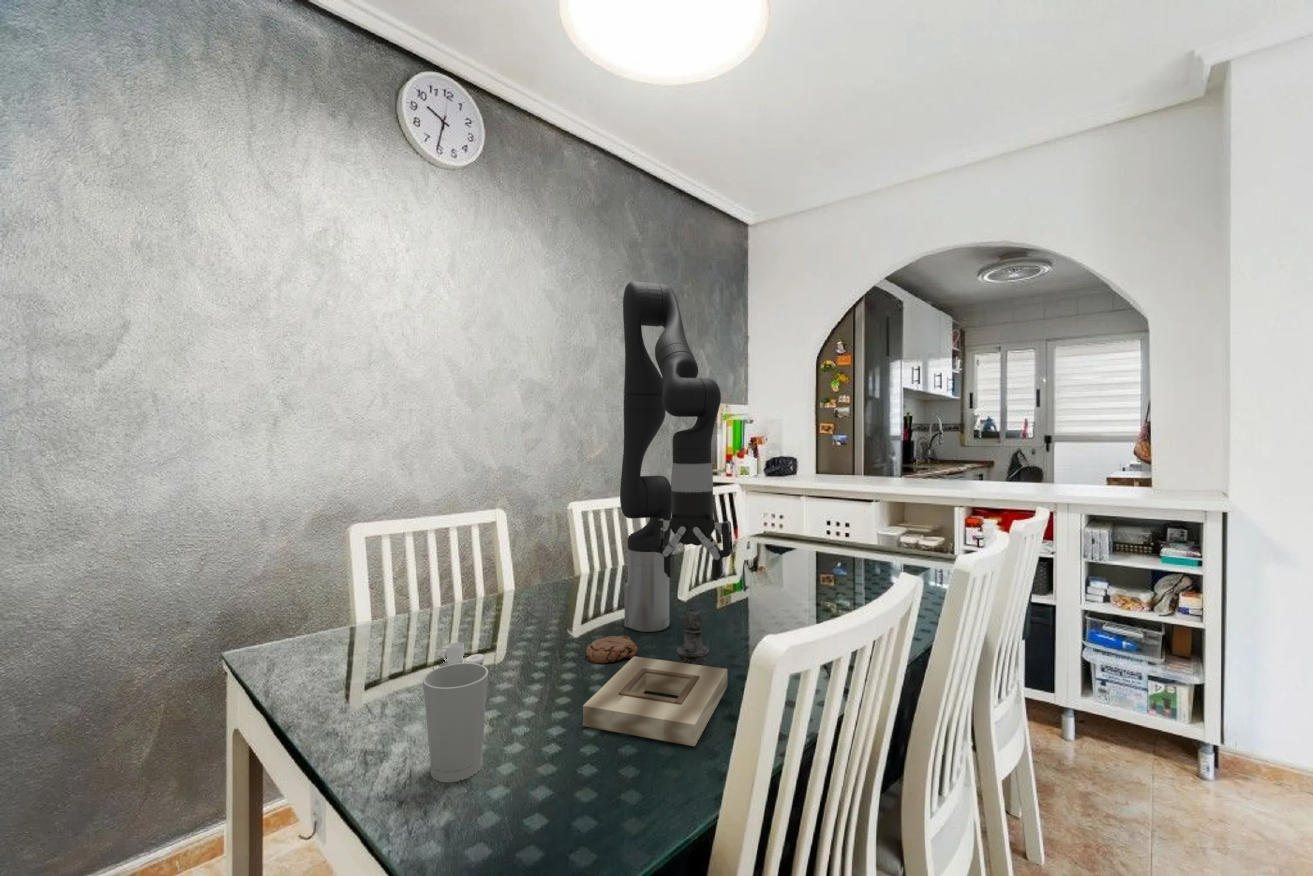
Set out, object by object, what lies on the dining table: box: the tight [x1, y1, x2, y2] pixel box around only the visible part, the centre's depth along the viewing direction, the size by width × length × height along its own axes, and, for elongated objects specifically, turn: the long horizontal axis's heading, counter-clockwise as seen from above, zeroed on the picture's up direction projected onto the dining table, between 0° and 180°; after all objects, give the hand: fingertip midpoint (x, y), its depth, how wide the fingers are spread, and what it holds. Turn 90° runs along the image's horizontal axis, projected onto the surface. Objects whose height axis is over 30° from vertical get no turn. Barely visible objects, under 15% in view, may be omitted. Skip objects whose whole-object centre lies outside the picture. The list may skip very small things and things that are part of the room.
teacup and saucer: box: [440, 641, 485, 665], centre depth 109 cm, size 9×8×4 cm
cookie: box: [585, 635, 639, 664], centre depth 114 cm, size 10×11×3 cm
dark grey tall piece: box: [676, 603, 710, 666], centre depth 107 cm, size 6×6×12 cm
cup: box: [422, 662, 489, 783], centre depth 76 cm, size 8×8×12 cm
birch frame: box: [582, 655, 728, 747], centre depth 93 cm, size 17×20×3 cm
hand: (692, 577), depth 106 cm, fingers open, 8 cm apart
